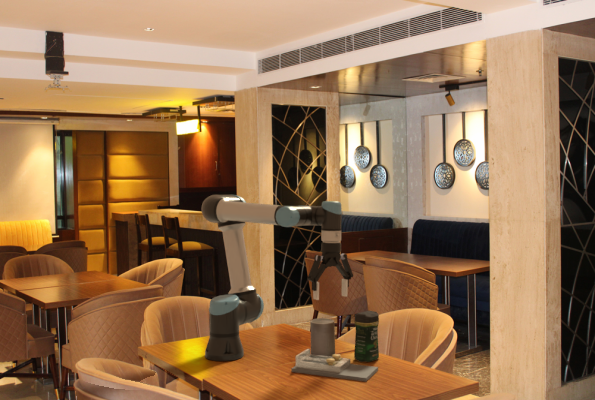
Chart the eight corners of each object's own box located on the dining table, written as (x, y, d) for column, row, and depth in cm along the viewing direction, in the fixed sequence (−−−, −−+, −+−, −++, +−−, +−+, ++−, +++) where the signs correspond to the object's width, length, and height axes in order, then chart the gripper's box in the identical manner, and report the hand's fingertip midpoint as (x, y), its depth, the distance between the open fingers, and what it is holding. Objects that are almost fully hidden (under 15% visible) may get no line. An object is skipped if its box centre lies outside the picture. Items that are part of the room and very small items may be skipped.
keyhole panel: (295, 367, 207) (295, 355, 207) (307, 359, 217) (307, 348, 217) (340, 373, 200) (339, 361, 200) (350, 364, 210) (350, 353, 210)
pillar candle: (327, 350, 235) (327, 314, 235) (339, 356, 226) (339, 318, 226) (306, 353, 231) (305, 316, 231) (317, 359, 222) (317, 321, 222)
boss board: (291, 371, 206) (291, 358, 206) (307, 361, 219) (306, 348, 219) (366, 381, 195) (366, 367, 195) (378, 370, 208) (378, 356, 208)
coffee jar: (367, 364, 216) (367, 314, 216) (351, 360, 221) (350, 311, 221) (382, 358, 223) (382, 311, 223) (366, 355, 228) (365, 308, 228)
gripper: (310, 243, 208) (309, 302, 208) (362, 241, 222) (362, 296, 222) (298, 242, 214) (297, 299, 214) (350, 239, 228) (349, 293, 228)
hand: (330, 297), depth 218 cm, fingers open, 13 cm apart
